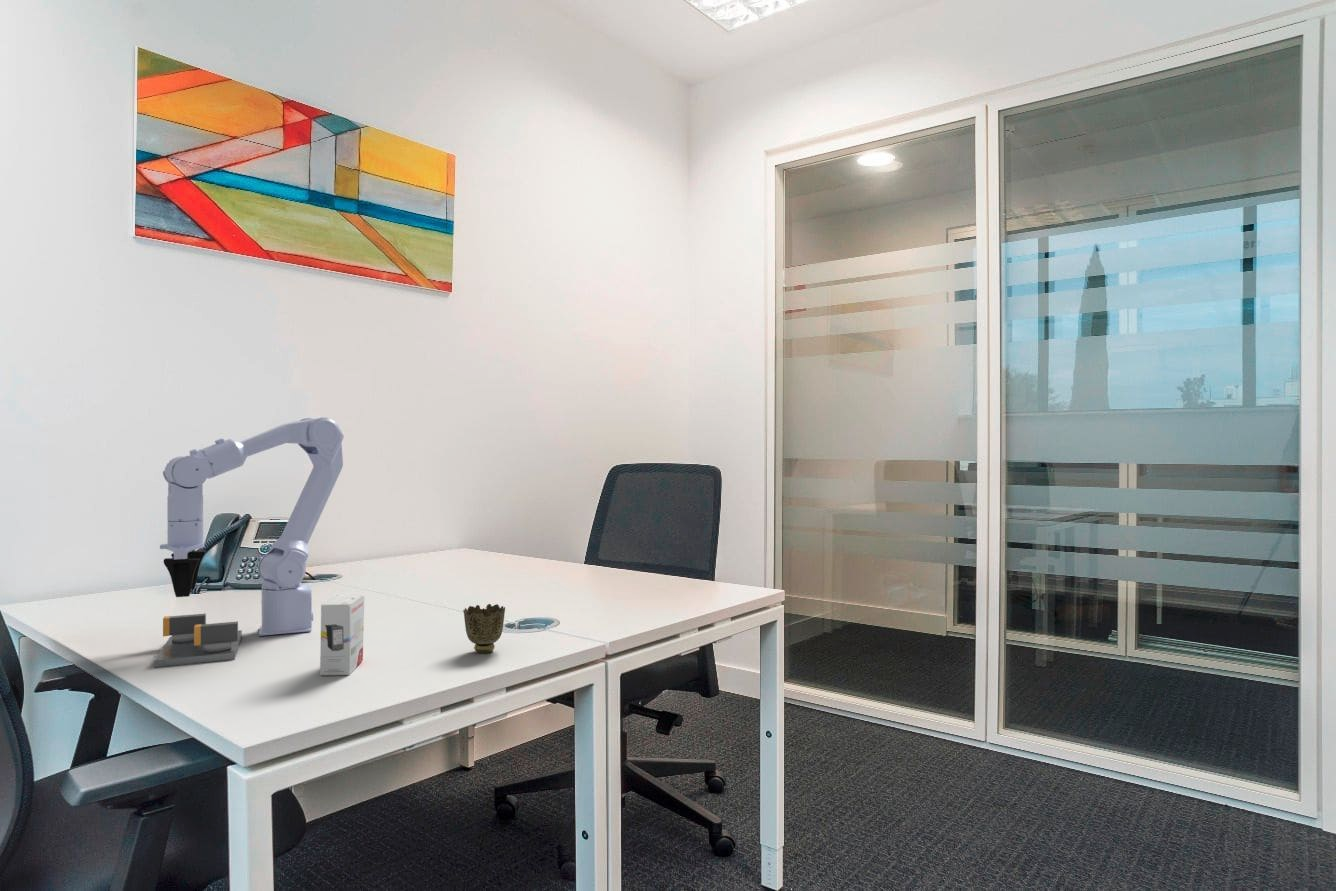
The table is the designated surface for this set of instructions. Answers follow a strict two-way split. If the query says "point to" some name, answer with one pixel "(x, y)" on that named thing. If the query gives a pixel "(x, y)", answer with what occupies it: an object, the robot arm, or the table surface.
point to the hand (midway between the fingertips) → (185, 592)
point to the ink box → (341, 634)
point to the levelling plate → (192, 653)
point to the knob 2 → (216, 636)
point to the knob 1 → (182, 626)
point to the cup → (484, 626)
